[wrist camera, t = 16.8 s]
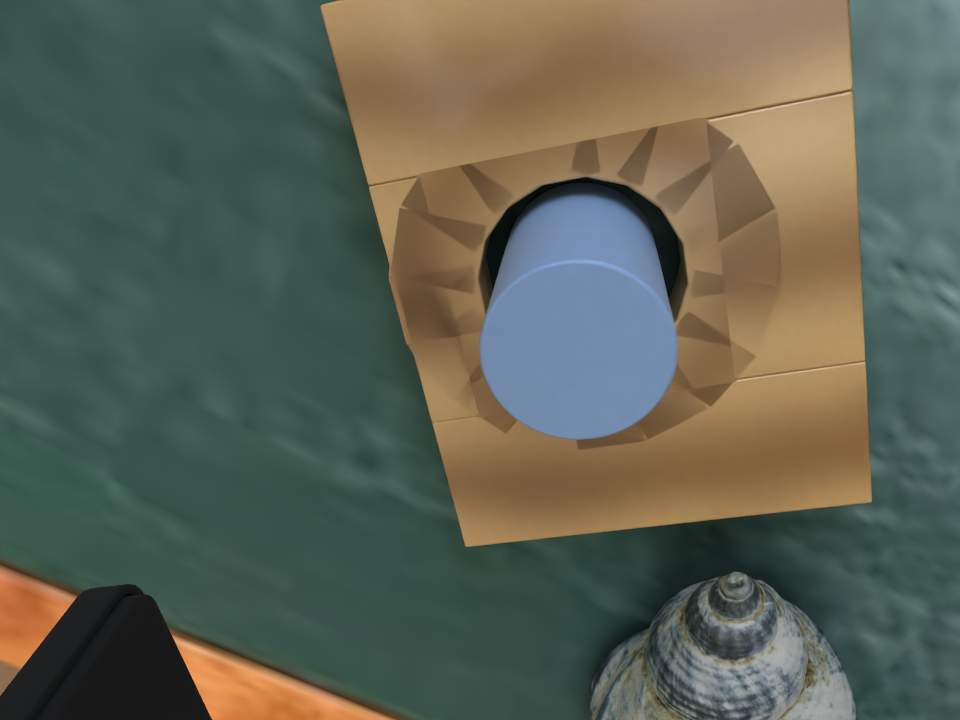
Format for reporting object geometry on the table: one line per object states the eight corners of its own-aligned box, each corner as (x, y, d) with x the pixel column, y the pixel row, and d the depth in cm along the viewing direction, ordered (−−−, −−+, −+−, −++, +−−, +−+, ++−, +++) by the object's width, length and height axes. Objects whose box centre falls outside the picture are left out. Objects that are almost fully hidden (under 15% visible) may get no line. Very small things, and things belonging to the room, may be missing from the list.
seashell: (568, 698, 34) (748, 476, 28) (728, 842, 31) (955, 630, 26) (492, 801, 28) (697, 550, 23) (679, 984, 26) (953, 753, 21)
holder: (335, 3, 22) (313, 6, 21) (821, -115, 20) (844, -124, 18) (469, 511, 29) (461, 548, 27) (853, 466, 26) (872, 502, 24)
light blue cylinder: (493, 197, 24) (459, 278, 18) (644, 168, 23) (664, 243, 17) (522, 333, 26) (500, 452, 19) (664, 310, 25) (689, 427, 19)
